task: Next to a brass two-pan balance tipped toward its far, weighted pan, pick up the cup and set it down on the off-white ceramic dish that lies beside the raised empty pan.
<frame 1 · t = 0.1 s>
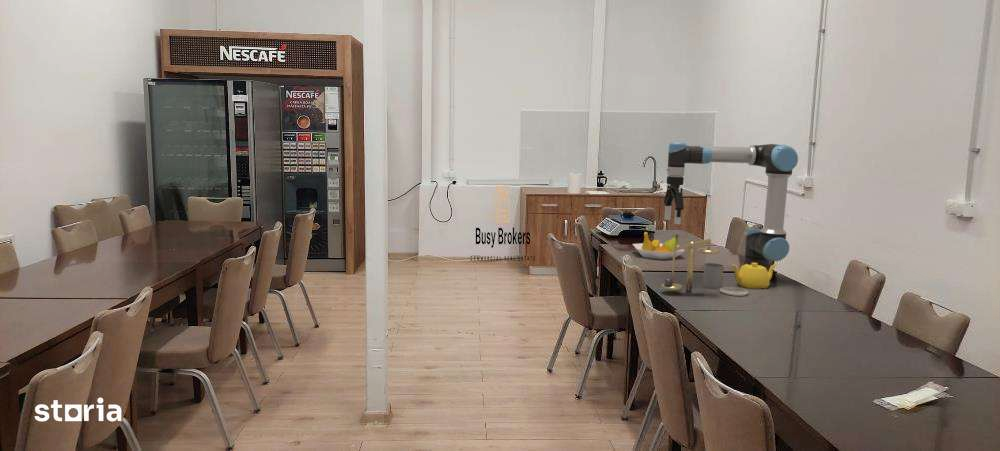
hand: (672, 221, 328), 28 cm above the table, fingers open, 13 cm apart
balance: (688, 293, 309), on the table
cup: (712, 286, 323), on the table
fruit: (657, 256, 392), on the table
teapot: (751, 285, 328), on the table
dish: (733, 292, 312), on the table
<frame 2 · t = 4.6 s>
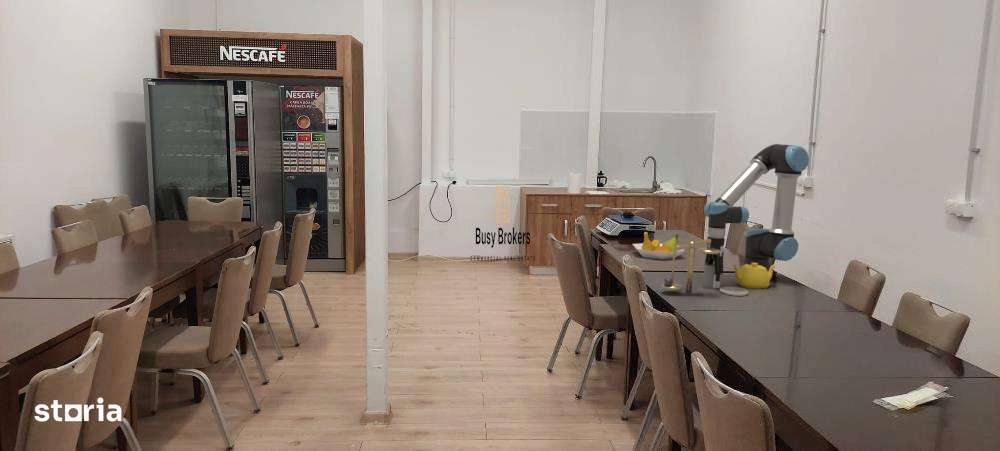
hand: (712, 285, 323), 0 cm above the table, fingers closed on cup, 8 cm apart
cup: (712, 286, 323), on the table, touching gripper
everything else where it was.
when the fingers open (3 cm above the table, at t = 12.0 s): cup drops 1 cm, resting on dish.
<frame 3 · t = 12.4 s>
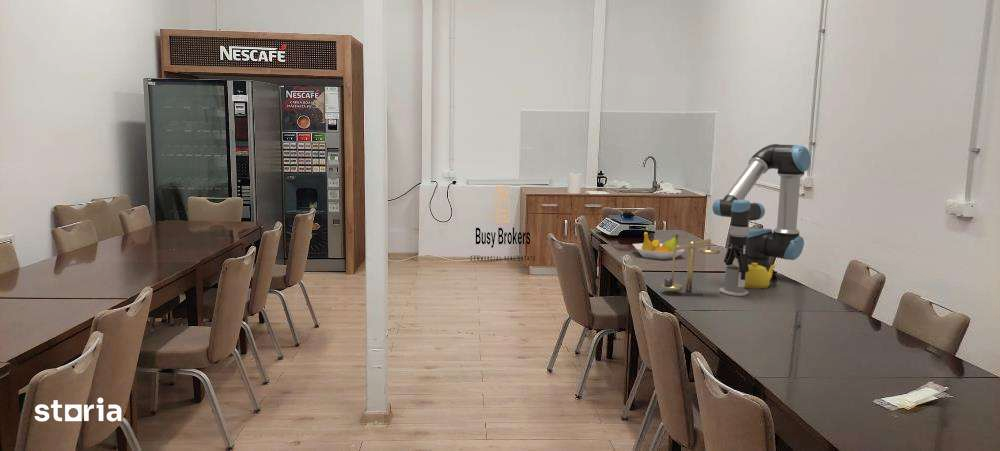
hand: (734, 283, 311), 4 cm above the table, fingers open, 13 cm apart
cup: (733, 290, 312), point 1 cm above the table, touching dish
everything else where it was.
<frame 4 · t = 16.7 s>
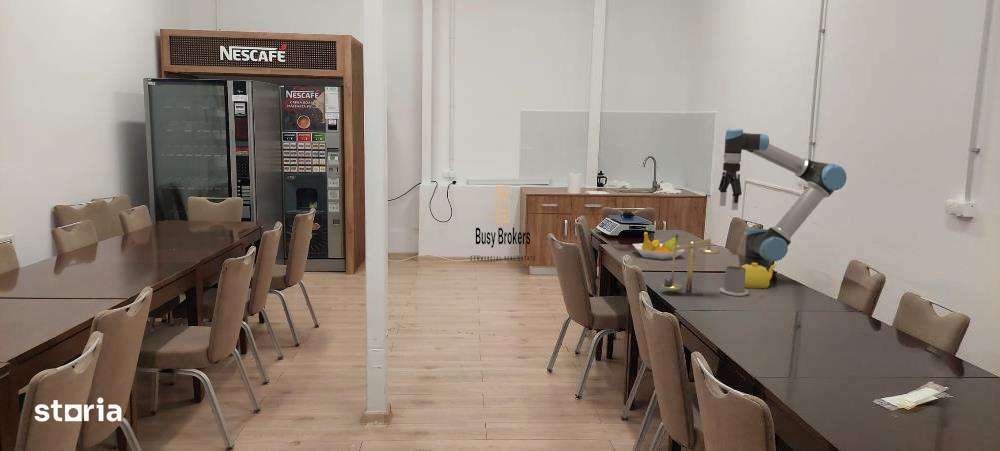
hand: (728, 208, 331), 35 cm above the table, fingers open, 13 cm apart
nothing on the table moved.
at the end: cup 0.1 cm from the dish (horizontally); cup touching dish; cup tilted 0° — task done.
